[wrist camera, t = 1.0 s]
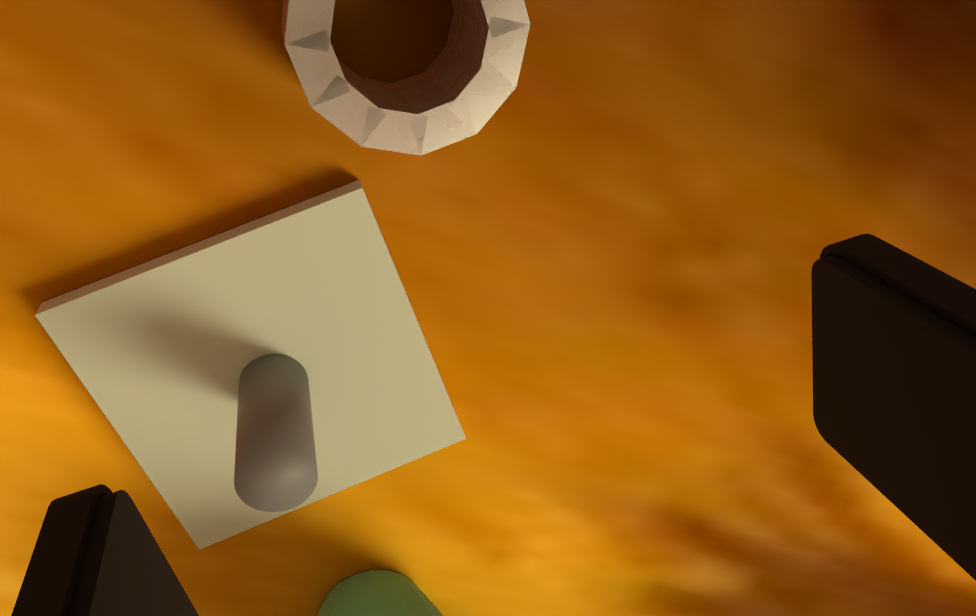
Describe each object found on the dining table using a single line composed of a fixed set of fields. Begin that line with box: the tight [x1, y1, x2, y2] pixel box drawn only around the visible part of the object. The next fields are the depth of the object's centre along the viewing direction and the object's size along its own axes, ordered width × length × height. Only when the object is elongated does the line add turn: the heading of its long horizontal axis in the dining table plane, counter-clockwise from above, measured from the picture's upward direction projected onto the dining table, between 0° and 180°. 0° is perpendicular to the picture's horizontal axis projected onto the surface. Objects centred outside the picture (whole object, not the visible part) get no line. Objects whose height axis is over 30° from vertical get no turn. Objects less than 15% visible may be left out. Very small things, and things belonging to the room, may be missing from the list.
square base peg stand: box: [35, 180, 466, 550], centre depth 29 cm, size 12×12×7 cm
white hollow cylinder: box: [281, 0, 530, 155], centre depth 25 cm, size 7×7×5 cm
